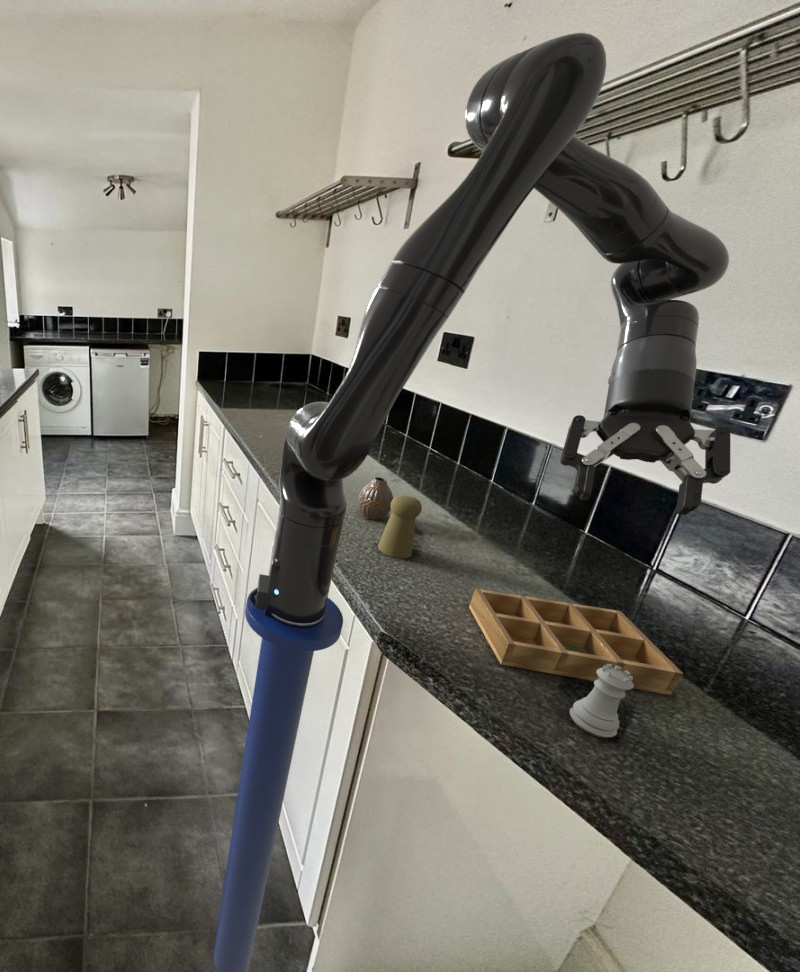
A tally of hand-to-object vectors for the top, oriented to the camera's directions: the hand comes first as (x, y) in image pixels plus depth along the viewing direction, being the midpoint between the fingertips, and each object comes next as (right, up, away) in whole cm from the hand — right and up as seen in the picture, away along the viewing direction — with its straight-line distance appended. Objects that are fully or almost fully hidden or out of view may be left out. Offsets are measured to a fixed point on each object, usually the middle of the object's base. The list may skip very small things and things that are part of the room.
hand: (632, 505), depth 58 cm
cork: (-9, -10, +39) cm, 41 cm away
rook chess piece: (-3, -26, +2) cm, 27 cm away
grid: (+3, -21, +14) cm, 26 cm away
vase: (-7, -5, +53) cm, 53 cm away
